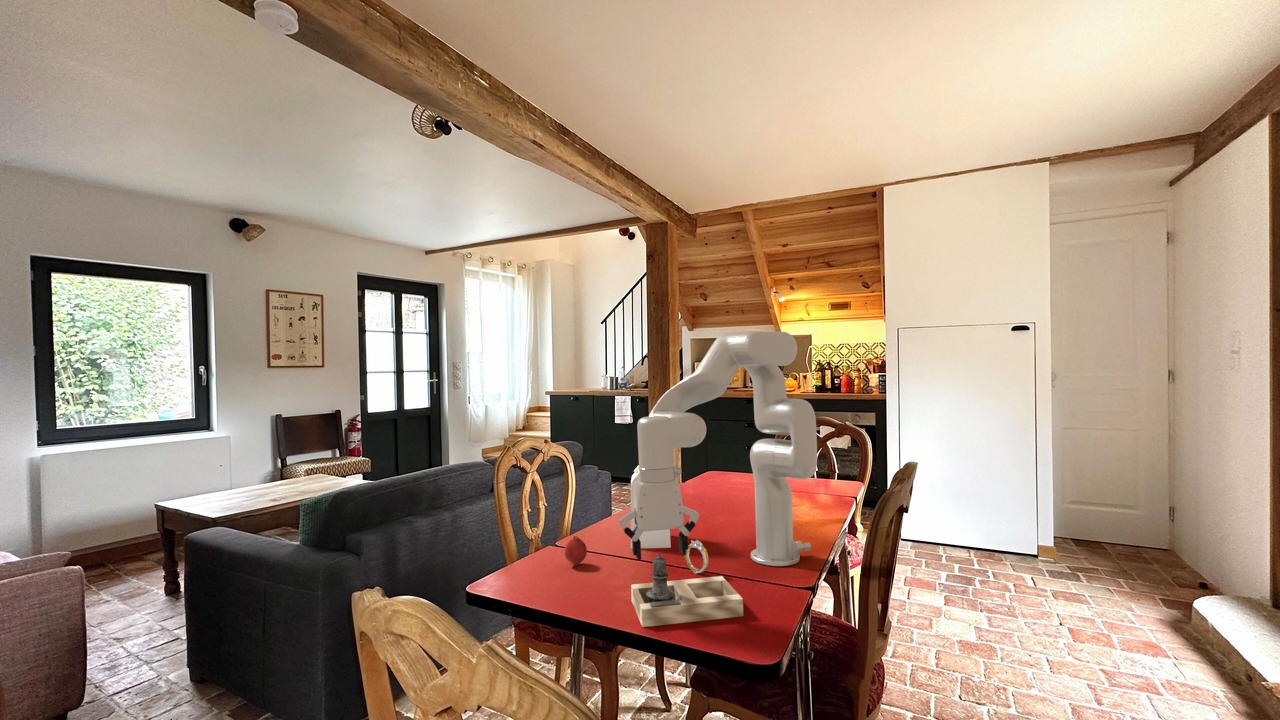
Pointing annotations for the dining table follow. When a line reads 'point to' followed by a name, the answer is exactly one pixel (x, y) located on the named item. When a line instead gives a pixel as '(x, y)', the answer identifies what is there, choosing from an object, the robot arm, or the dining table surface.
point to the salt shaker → (659, 582)
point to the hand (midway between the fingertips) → (660, 555)
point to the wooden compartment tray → (688, 602)
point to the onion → (575, 551)
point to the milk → (648, 537)
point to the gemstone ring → (699, 546)
